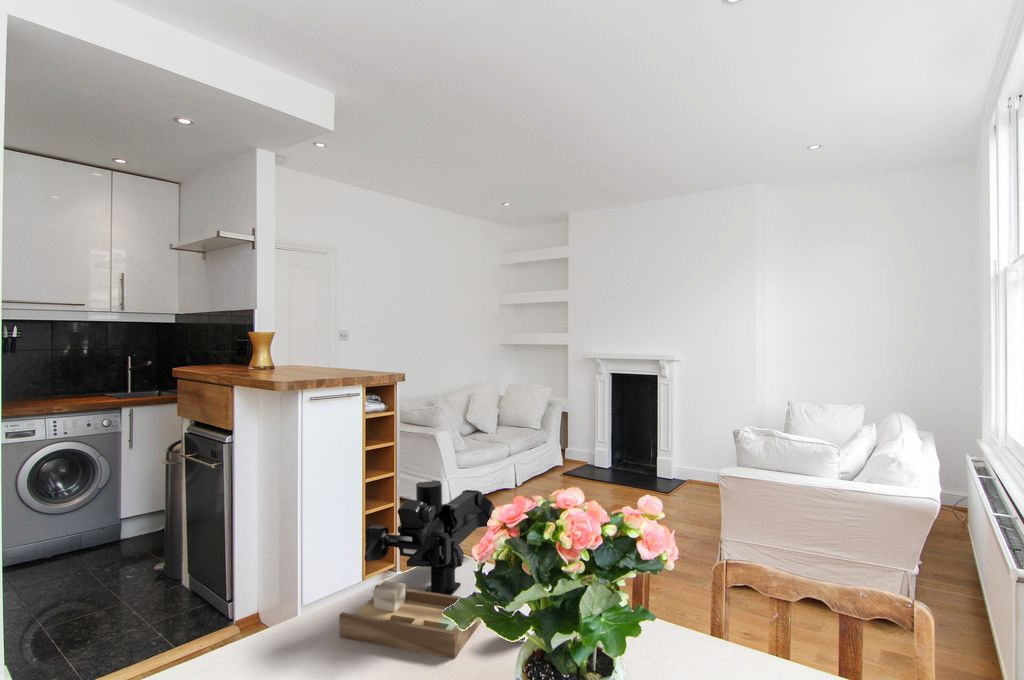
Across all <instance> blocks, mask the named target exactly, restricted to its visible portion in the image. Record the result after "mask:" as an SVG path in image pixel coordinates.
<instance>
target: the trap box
mask: <svg viewBox="0 0 1024 680" xmlns="http://www.w3.org/2000/svg"><path fill="white" fill-rule="evenodd" d="M379 585H380V584H376V585H375V586H374V589H375V588H376V587H378V586H379ZM460 597H461V596H457V595H453V594H452V595H446V594H439V593H432V592H425V590H417V589H410V588H405V603H404V604H403V605H402V606H401V607H400V608H399V609H397V610H396V611H395V612H392V611H386V610H379V609H374V596H372V597H371V598H370V599H368V601H367V602H365V603H364V604H362V605H361V607H359V608H358V609H357V610H356V611H354V612H353V613H348V612H342V611H341V613H340V614H339V622H338V623H339V626H338V627H339V633H338V634H339V638H341V639H346V640H351V639H352V640H351V641H357V640H358V642H362V641H363V642H364V643H370V644H372V645H373V644H374V645H379V646H385V647H390V648H396V649H401V650H407V651H413V652H417V653H422V654H428V655H434V656H439V657H445V658H451V659H456V658H457V657H458V655H459V653H460V652H461V651H462V649H464V647H465V646H466V644H467V642H468V641H469V640H470V638H471V637H472V636H473V634H474V633H475V632H476V631H477V628H478V627H479V626H480V624H481V623H482V622H481V621H480V620H478V621H476V622H475V623H474V624H473V625H472V626H471V627H469V628H468V629H467V630H465V631H461V630H459V629H458V627H457V625H455V624H454V622H452V621H451V620H450V619H448V618H446V617H444V616H443V615H442V611H443V610H444V609H445V608H447V607H449V606H450V605H452V604H454V603H455V602H456V601H457V600H458V599H459V598H460Z"/></svg>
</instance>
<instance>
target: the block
mask: <svg viewBox="0 0 1024 680" xmlns="http://www.w3.org/2000/svg"><path fill="white" fill-rule="evenodd" d="M378 585H379V586H378V587H376V588H375V587H374V589H373V597H374V609H379V610H386V611H392V612H395V611H396V610H397V609H399V608H400V607H401V606H402V605H403V604H404V603H405V589H406V583H405V582H404V583H403V582H396V581H391V580H383V582H382V583H380V584H378Z"/></svg>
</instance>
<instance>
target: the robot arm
mask: <svg viewBox="0 0 1024 680" xmlns="http://www.w3.org/2000/svg"><path fill="white" fill-rule="evenodd" d="M442 484H443V483H441V481H440V480H431V481H422V482H417V483H416V484H415V486H416V487H415V490H416V494H415V495H416V496H415V497H416V499H415V500H411V499H406V500H404V501H403V503H402V504H401V505H400V507H399V508H398V509H397V514H398V517H399V522H400V525H398V526H397V533H399V534H393V533H389V531H390V530H389V528H388V527H387V526H384V525H374V524H372V525H370V526H369V527H367V528H366V529H365V555H364V561H365V562H373V561H381V560H383V558H386V556H387V555H388V553H389V550H390V547H393V548H397V549H398V550H399V556H400V557H409V558H408V559H407V560H406V567H408V568H412V567H413V568H415V567H416V568H418V567H419V568H420V567H421V568H425V567H427V568H430V585H429V587H427V588H426V589H425V590H424V591H425V592H432V593H439V594H446V595H452V596H453V594H454V593H455V592H456V591H457V590H458V589H459V588H460V587H461V582H456V569H457V568H460V567H462V566H463V562H464V558H465V557H464V556H465V555H464V554H465V553H464V551H463V548H462V547H461V546H460V544H462V542H463V541H464V540H466V539H467V538H468V537H469V536H471V534H473V533H474V531H476V530H477V529H478V528H487V527H488V526H487V522H488V520H489V518H490V517H491V514H492V511H493V510H494V509H495V510H496V507H495V505H494V504H493V502H492V501H491V500H490V499H488V498H487V497H486V496H484V495H483V492H482V491H480V490H477V489H475V490H474V489H465V490H463V491H462V492H461V494H459V495H457V496H456V497H455V498H453V499H452V500H450V501H448V502H447V503H443V494H442V493H443V487H442Z"/></svg>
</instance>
